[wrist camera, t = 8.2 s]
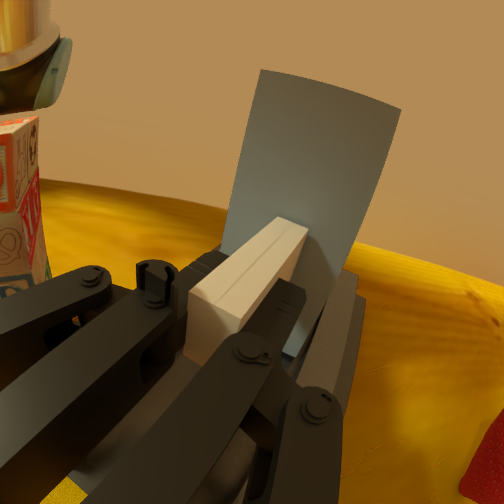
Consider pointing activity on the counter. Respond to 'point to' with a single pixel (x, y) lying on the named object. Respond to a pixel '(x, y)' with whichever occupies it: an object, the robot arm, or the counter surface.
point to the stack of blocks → (20, 209)
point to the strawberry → (487, 468)
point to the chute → (241, 446)
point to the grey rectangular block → (309, 177)
